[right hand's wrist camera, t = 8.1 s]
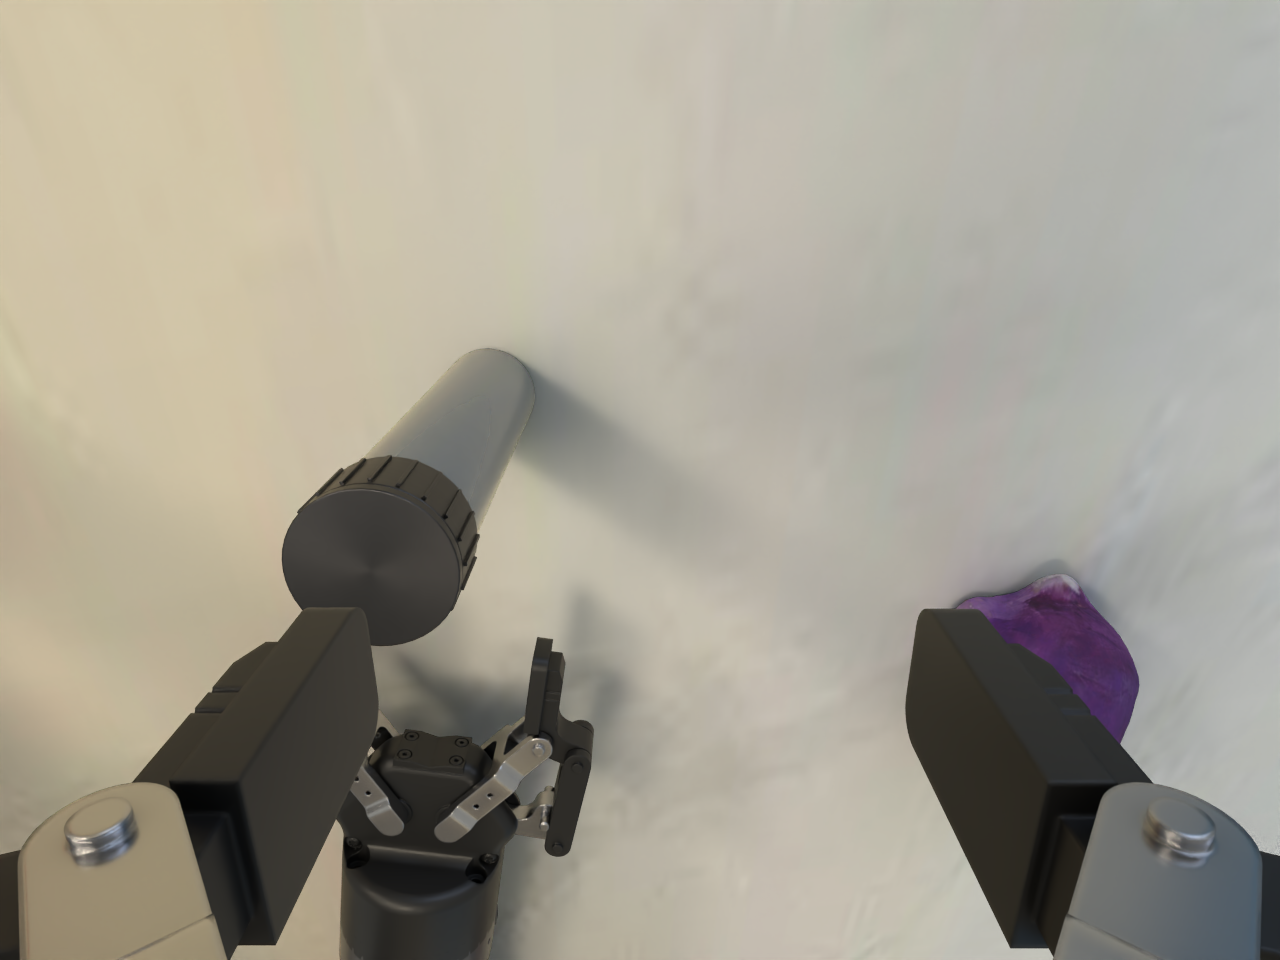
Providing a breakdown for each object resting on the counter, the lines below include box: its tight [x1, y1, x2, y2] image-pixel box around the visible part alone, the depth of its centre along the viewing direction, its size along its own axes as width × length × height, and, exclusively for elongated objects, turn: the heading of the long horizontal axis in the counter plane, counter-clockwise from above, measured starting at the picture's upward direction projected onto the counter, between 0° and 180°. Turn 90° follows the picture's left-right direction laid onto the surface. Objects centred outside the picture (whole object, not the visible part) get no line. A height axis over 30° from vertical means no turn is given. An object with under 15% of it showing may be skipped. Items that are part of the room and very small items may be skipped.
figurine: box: [956, 574, 1139, 744], centre depth 35 cm, size 9×10×15 cm
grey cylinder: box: [364, 349, 535, 534], centre depth 29 cm, size 4×4×17 cm
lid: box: [282, 455, 480, 646], centre depth 21 cm, size 5×5×2 cm
